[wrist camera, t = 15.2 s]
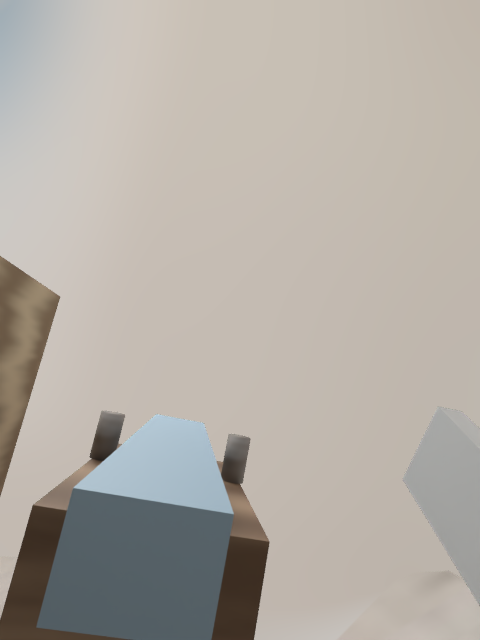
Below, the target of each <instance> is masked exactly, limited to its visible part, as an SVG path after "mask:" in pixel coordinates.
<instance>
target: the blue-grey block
mask: <svg viewBox="0 0 480 640" xmlns="http://www.w3.org/2000/svg"><path fill="white" fill-rule="evenodd" d="M233 517H234V513H233V510H232V507H231V504H230V501H229V498H228V495H227V492H226V489H225V486H224V483H223V480H222V477H221V474H220V471H219V468H218V465H217V462H216V459H215V456H214V453H213V450H212V447H211V444H210V441H209V438H208V435H207V432H206V429H205V426H204V423H201V422H195V421H190V420H185V419H179V418H174V417H168V416H163V415H158V414H156V415H155V416H154V417H153V418H152V419H151V420H149V421H148V422H147V423H146V424H145V425H144V426H143V427H142V428H140V429H139V430H138V431H137V432H136V433H135V434H134V435H132V436H131V437H130V438H129V439H128V440H127V441H126V442H125V443H123V444H122V445H121V446H120V447H119V448H118V449H117V450H115V451H114V452H113V453H112V454H111V455H110V456H109V457H107V458H106V459H105V460H104V461H103V462H102V463H101V464H100V465H98V466H97V467H96V468H95V469H94V470H93V471H92V472H90V473H89V474H88V475H87V476H86V477H85V478H84V479H83V480H81V481H80V482H79V483H78V484H77V485H76V486H75V487H73V490H72V494H71V497H70V501H69V505H68V509H67V513H66V516H65V520H64V524H63V528H62V531H61V535H60V539H59V543H58V547H57V550H56V554H55V558H54V562H53V565H52V569H51V573H50V577H49V581H48V584H47V588H46V592H45V596H44V599H43V603H42V607H41V611H40V615H39V618H38V622H37V626H36V628H44V629H52V630H60V631H68V632H76V633H84V634H91V635H99V636H107V637H115V638H123V639H131V640H211V639H212V633H213V628H214V622H215V617H216V611H217V605H218V600H219V594H220V589H221V583H222V578H223V572H224V567H225V561H226V555H227V550H228V544H229V539H230V533H231V528H232V522H233Z"/></svg>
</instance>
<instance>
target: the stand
mask: <svg viewBox="0 0 480 640" xmlns="http://www.w3.org/2000/svg"><path fill="white" fill-rule="evenodd" d="M59 299H60V296H58V295H57V294H55V293H54V292H52V291H51V290H49V289H48V288H47V287H45V286H44V285H42V284H41V283H39V282H38V281H36V280H35V279H33V278H32V277H30V276H29V275H27V274H26V273H24V272H23V271H22V270H20V269H19V268H17V267H16V266H14V265H13V264H11V263H10V262H8V261H7V260H5V259H4V258H2V257H1V256H0V495H1V492H2V489H3V485H4V482H5V479H6V475H7V472H8V469H9V465H10V462H11V458H12V455H13V452H14V448H15V445H16V442H17V439H18V435H19V432H20V429H21V425H22V422H23V419H24V415H25V412H26V408H27V406H28V402H29V399H30V396H31V392H32V389H33V385H34V382H35V379H36V376H37V372H38V369H39V366H40V362H41V359H42V356H43V352H44V349H45V346H46V342H47V339H48V336H49V332H50V329H51V325H52V322H53V319H54V316H55V312H56V309H57V306H58V302H59Z"/></svg>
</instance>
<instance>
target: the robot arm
mask: <svg viewBox="0 0 480 640" xmlns="http://www.w3.org/2000/svg"><path fill="white" fill-rule="evenodd" d="M403 481H404V483H405V484H406V486H407V488H408V489H409V491H410V492H411V494H412V495H413V497H414V499H415V501H416V502H417V504H418V505H419V507H420V509H421V510H422V512H423V513H424V515H425V517H426V519H427V520H428V522H429V523H430V525H431V527H432V529H433V530H434V532H435V533H436V535H437V537H438V538H439V540H440V541H441V543H442V545H443V547H444V548H445V550H446V551H447V553H448V555H449V556H450V558H451V560H452V561H453V563H454V564H455V566H456V568H457V570H458V571H459V573H460V574H461V576H462V578H463V579H464V581H465V583H466V584H467V586H468V588H469V589H470V591H471V592H472V594H473V596H474V597H475V599H476V601H477V602H478V604H479V606H480V428H479V427H478V426H477V425H476V424H475V423H474V422H472V421H471V420H470V419H469V418H468V417H467V416H466V415H465V414H464V413H463V412H462V411H458V410H453V409H448V408H443V407H437V410H436V412H435V414H434V416H433V418H432V420H431V422H430V424H429V426H428V428H427V430H426V432H425V435H424V437H423V438H422V440H421V442H420V444H419V447H418V449H417V451H416V453H415V455H414V457H413V459H412V461H411V463H410V465H409V467H408V469H407V471H406V473H405V475H404V477H403Z"/></svg>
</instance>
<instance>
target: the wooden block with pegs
mask: <svg viewBox="0 0 480 640" xmlns="http://www.w3.org/2000/svg"><path fill="white" fill-rule="evenodd" d="M124 418H125V415H124V414H121V413H117V412H110V411H101V415H100V419H99V423H98V426H97V430H96V434H95V438H94V442H93V446H92V450H91V453H90V458H92V459H91V460H90V461H88V462H87V463H86V464H85V465H83V466H82V467H81V468H80V469H78V470H77V471H76V472H74V473H73V474H72V475H71V476H69V477H68V478H67V479H65V480H64V481H63V482H62V483H60V484H59V485H58V486H57V487H55V488H54V489H53V490H51V491H50V492H49V493H48V494H46V495H45V496H44V497H43V498H41V499H40V500H39V501H37V502H36V503H35V504H34V505H33V506H32V510H31V513H30V517H29V520H28V524H27V528H26V531H25V535H24V538H23V542H22V546H21V549H20V552H19V556H18V559H17V563H16V566H15V570H14V573H13V577H12V581H11V584H10V588H9V591H8V595H7V598H6V602H5V605H4V609H3V612H2V616H1V619H0V640H131V639H123V638H115V637H107V636H99V635H91V634H84V633H76V632H68V631H60V630H52V629H44V628H36V626H37V622H38V618H39V615H40V611H41V607H42V603H43V599H44V596H45V592H46V588H47V584H48V581H49V577H50V573H51V569H52V565H53V562H54V558H55V554H56V550H57V547H58V543H59V539H60V535H61V531H62V528H63V524H64V520H65V516H66V513H67V509H68V505H69V501H70V497H71V494H72V490H73V487H75V486H76V485H77V484H78V483H79V482H80V481H81V480H83V479H84V478H85V477H86V476H87V475H88V474H89V473H90V472H92V471H93V470H94V469H95V468H96V467H97V466H98V465H100V464H101V463H102V462H103V461H104V460H105V459H106V458H107V457H109V456H110V455H111V454H112V453H113V452H114V451H115V450H117V449H118V448H119V447H120V446H121V445H122V444H118V441H119V438H120V433H121V430H122V425H123V421H124ZM249 444H250V438H248V437H245V436H241V435H236V434H229V435H228V440H227V446H226V451H225V456H224V461H223V462H220V461H216V462H217V465H218V468H219V471H220V474H221V477H222V480H223V483H224V486H225V489H226V492H227V495H228V498H229V501H230V504H231V507H232V510H233V513H234V517H233V522H232V528H231V533H230V539H229V544H228V550H227V555H226V561H225V567H224V572H223V578H222V583H221V589H220V594H219V600H218V605H217V611H216V617H215V622H214V628H213V633H212V639H211V640H254V635H255V629H256V623H257V616H258V610H259V603H260V597H261V591H262V585H263V579H264V573H265V566H266V560H267V554H268V547H269V540H268V538H267V536H266V534H265V532H264V530H263V528H262V526H261V524H260V523H259V521H258V518H257V517H256V515H255V513H254V511H253V509H252V507H251V505H250V503H249V501H248V499H247V497H246V495H245V493H244V491H243V489H242V487H241V485H240V484H241V483H243V478H244V472H245V467H246V460H247V455H248V450H249Z"/></svg>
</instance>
